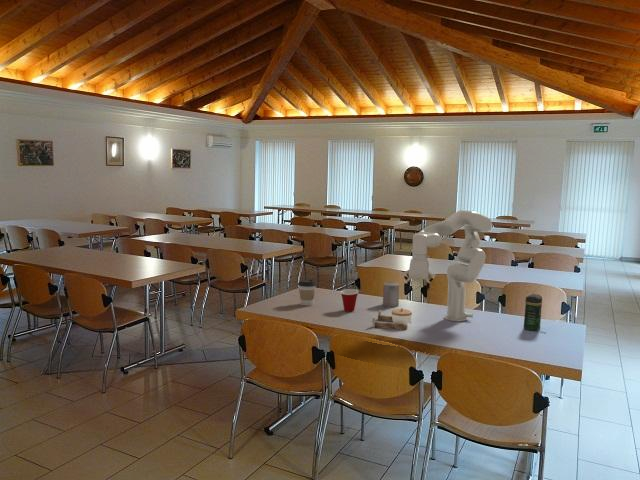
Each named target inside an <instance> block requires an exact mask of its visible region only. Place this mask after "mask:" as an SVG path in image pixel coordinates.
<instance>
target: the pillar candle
mask: <svg viewBox="0 0 640 480" xmlns="http://www.w3.org/2000/svg"><path fill="white" fill-rule="evenodd" d="M382 285H383V287H382V293H383V294H382V306H384V307H385V308H398V307H399V304H400V303H399V302H400V301H399V299H400V283H398V282H394V281H386V282H383V284H382Z"/></svg>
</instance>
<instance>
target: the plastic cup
mask: <svg viewBox="0 0 640 480" xmlns="http://www.w3.org/2000/svg"><path fill="white" fill-rule="evenodd" d="M339 293H340V295H341V297H342V298H341V299H342V304H343V310H344V312H347V313H348V312H349V313H351V312H352V313H353V312H354V311H355V309H356V304H357V303H356V302H357V298H358V294H359V290H358V289H354V288H353V289H352V288H348V289H347V288H346V289H342V290H340V292H339Z"/></svg>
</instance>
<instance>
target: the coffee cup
mask: <svg viewBox="0 0 640 480" xmlns="http://www.w3.org/2000/svg"><path fill="white" fill-rule="evenodd" d="M297 286H298V288H299V289H298V290H299V298H300V304H302V305H301V306H303V305H312V304H313V305H314V302H315V301H314V299H315V292H316V287H317V282H316V280H314V279H308V278H307V279H306V278H305V279H304V278H303V279H300V280H299V281H298V283H297ZM313 305H312V306H313Z"/></svg>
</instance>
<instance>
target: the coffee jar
mask: <svg viewBox="0 0 640 480" xmlns="http://www.w3.org/2000/svg"><path fill="white" fill-rule="evenodd" d="M524 304H525V307H524V318H523V329H524V330H527V331H530V332H533V331H535V332H537V331H539V330H540V329H541V321H542V319H541V317H542V307H543V297H542V296H541V295H540V294H537V293H532V294H528V295H527V296H525V303H524Z"/></svg>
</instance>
